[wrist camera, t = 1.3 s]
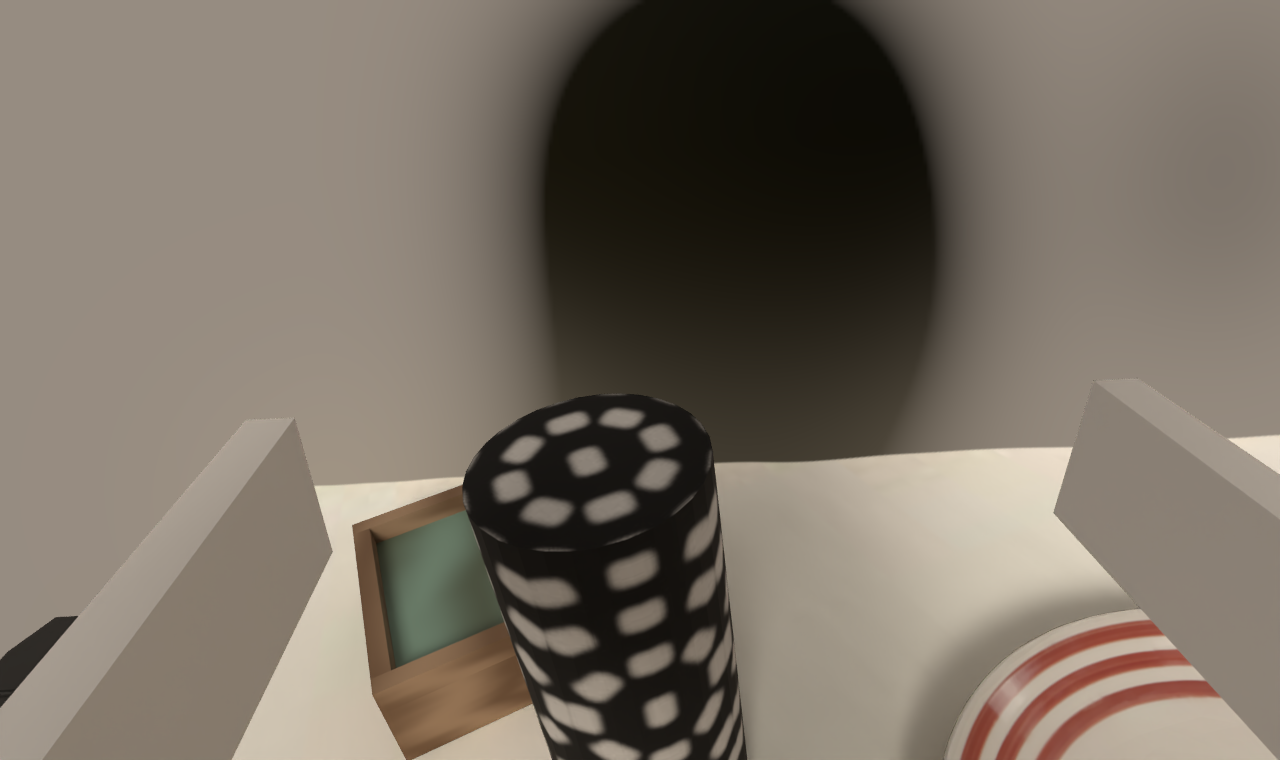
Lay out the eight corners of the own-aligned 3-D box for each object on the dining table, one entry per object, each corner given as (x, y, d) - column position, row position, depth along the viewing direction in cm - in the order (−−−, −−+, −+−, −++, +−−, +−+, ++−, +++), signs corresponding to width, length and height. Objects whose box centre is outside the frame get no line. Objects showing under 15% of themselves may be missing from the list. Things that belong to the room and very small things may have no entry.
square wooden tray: (572, 510, 53) (557, 450, 50) (650, 648, 41) (636, 580, 38) (380, 585, 49) (352, 525, 46) (407, 761, 37) (372, 695, 34)
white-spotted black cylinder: (557, 756, 36) (448, 436, 26) (706, 693, 38) (658, 371, 28) (605, 934, 29) (482, 591, 19) (784, 847, 31) (758, 492, 21)
